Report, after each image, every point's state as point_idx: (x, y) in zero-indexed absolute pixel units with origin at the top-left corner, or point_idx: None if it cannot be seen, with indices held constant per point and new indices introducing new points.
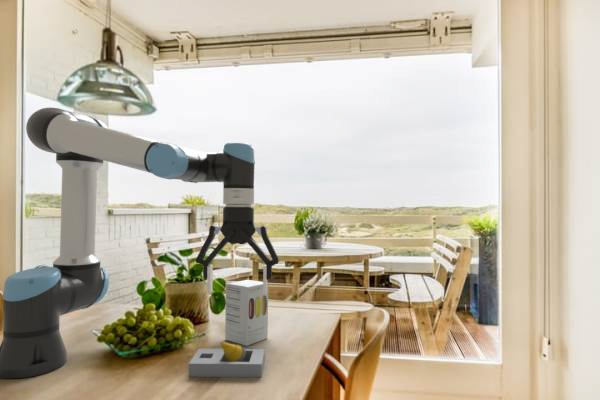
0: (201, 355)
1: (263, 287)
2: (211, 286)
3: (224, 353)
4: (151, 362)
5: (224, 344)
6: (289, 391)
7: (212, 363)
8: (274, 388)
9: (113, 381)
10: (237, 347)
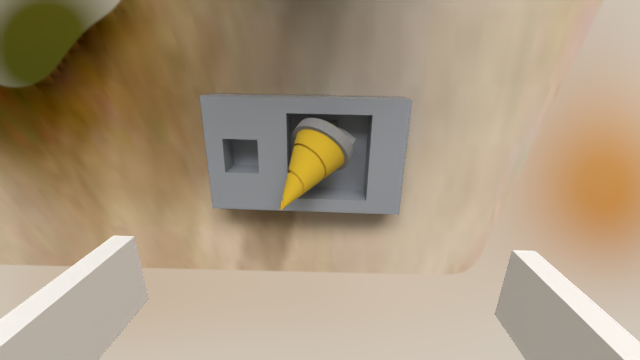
0: (223, 141)
1: (522, 352)
2: (116, 292)
3: (287, 129)
4: (92, 109)
5: (291, 202)
6: (449, 264)
7: (271, 208)
8: (419, 251)
9: (77, 216)
10: (328, 166)
